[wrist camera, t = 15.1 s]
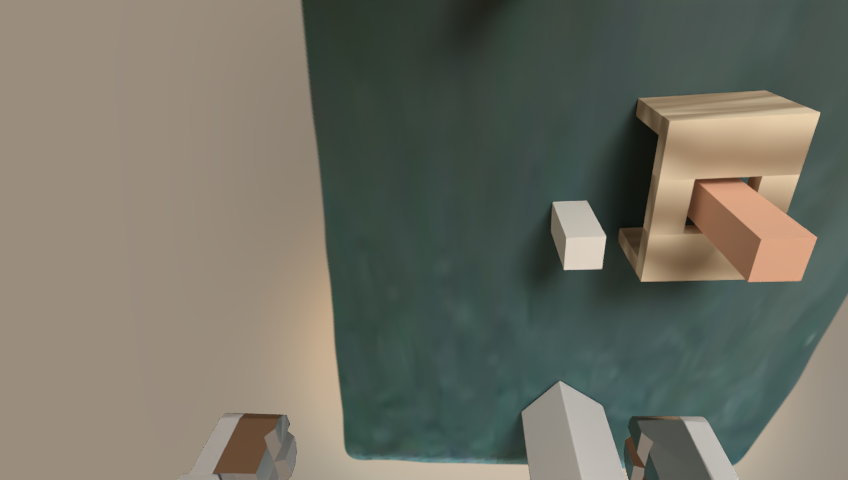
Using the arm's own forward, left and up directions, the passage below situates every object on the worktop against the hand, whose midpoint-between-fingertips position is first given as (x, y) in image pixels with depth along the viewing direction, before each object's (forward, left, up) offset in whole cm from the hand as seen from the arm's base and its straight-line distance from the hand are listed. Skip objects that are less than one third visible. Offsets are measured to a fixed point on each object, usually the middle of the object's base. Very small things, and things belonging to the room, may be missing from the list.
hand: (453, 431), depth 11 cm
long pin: (+8, +20, -34) cm, 40 cm away
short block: (+12, +10, -34) cm, 38 cm away
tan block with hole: (+8, +20, -34) cm, 40 cm away
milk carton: (+39, +11, -34) cm, 53 cm away
